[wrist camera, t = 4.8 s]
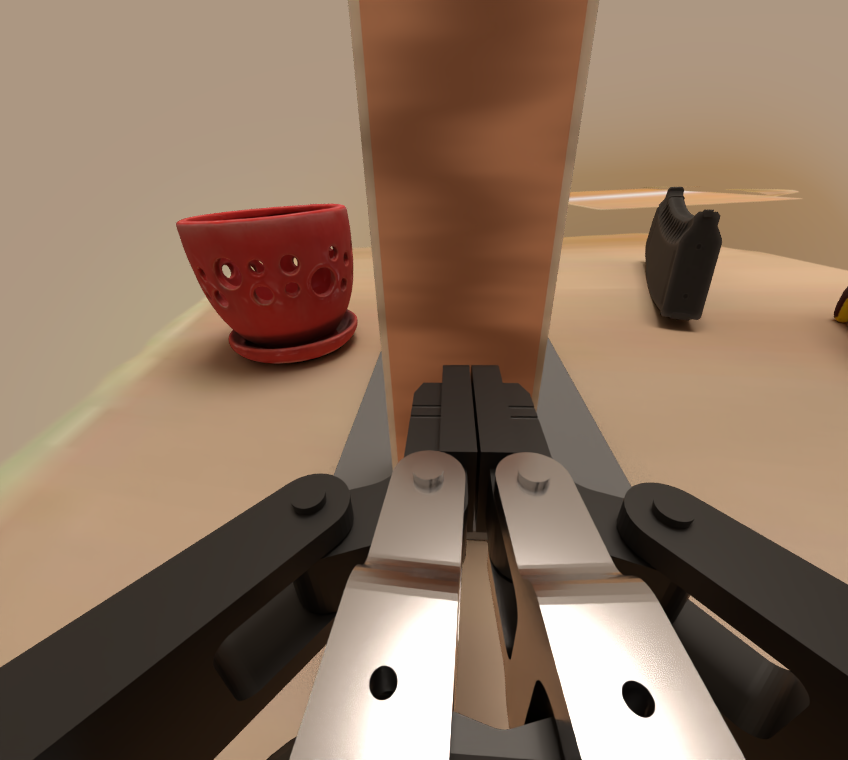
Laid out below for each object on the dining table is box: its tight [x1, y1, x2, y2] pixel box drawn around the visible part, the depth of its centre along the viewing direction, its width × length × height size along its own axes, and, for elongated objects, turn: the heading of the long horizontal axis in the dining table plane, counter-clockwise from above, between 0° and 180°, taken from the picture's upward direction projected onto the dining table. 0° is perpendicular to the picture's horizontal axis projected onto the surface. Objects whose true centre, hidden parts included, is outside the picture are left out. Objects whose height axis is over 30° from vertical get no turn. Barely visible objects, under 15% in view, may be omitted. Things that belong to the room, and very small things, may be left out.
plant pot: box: [176, 204, 357, 364], centre depth 33 cm, size 13×13×12 cm
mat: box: [334, 338, 631, 540], centre depth 26 cm, size 15×22×1 cm
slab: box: [348, 0, 599, 470], centre depth 14 cm, size 6×3×18 cm, turn 86°
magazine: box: [645, 187, 722, 320], centre depth 45 cm, size 17×3×30 cm
